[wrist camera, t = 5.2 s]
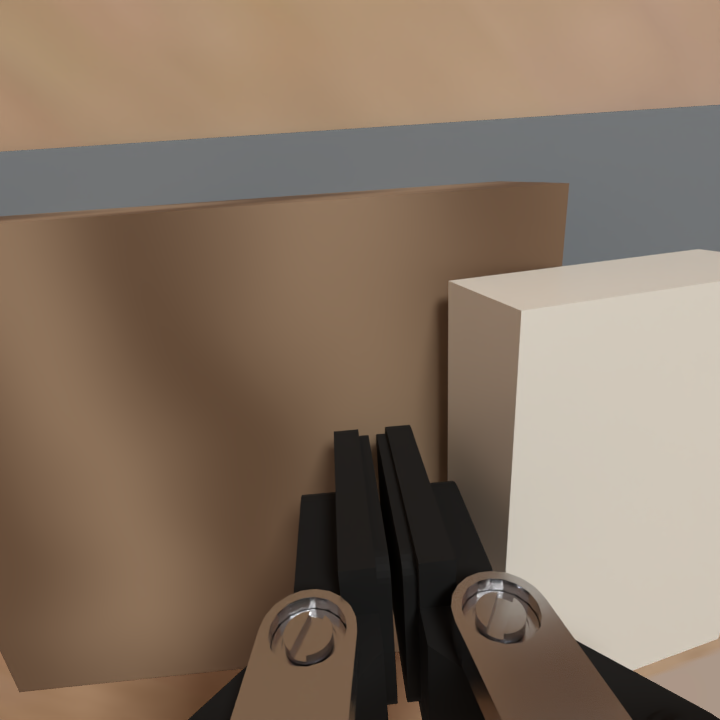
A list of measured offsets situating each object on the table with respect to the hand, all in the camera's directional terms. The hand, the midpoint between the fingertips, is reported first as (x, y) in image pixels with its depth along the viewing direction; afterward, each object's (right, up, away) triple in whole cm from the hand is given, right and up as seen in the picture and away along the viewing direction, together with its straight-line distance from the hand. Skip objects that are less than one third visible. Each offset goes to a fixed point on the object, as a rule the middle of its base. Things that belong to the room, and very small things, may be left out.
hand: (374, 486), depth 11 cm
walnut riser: (-3, +2, +5) cm, 6 cm away
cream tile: (+4, +1, +1) cm, 5 cm away
